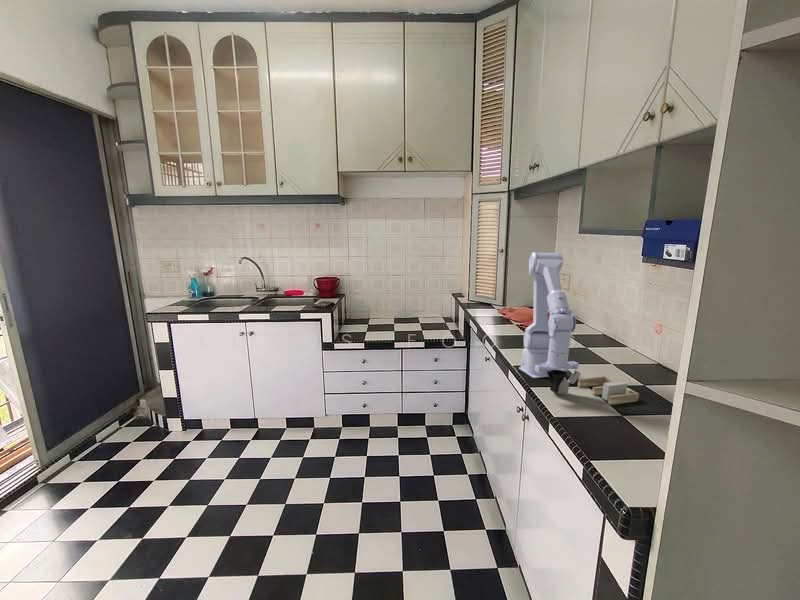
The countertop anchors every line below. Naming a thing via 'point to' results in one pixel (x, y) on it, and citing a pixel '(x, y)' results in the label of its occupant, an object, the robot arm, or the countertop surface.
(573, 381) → the lighter
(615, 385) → the grey block
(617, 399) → the rack
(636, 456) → the countertop surface
